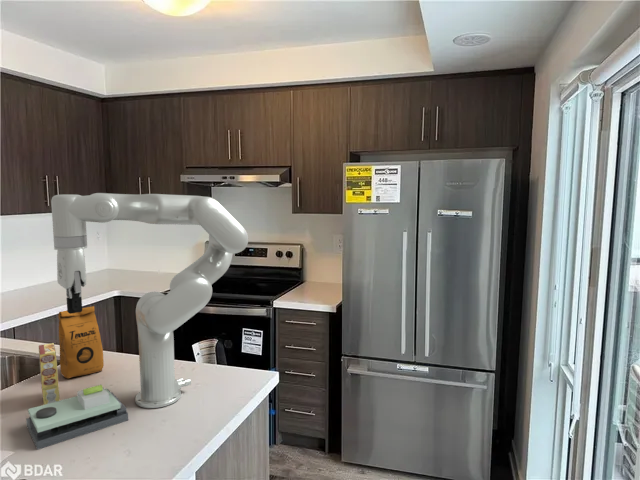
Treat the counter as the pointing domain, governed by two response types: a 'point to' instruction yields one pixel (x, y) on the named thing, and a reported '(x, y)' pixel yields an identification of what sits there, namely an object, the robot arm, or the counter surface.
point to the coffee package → (79, 343)
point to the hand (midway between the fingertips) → (74, 311)
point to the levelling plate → (74, 408)
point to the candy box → (49, 373)
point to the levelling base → (76, 427)
